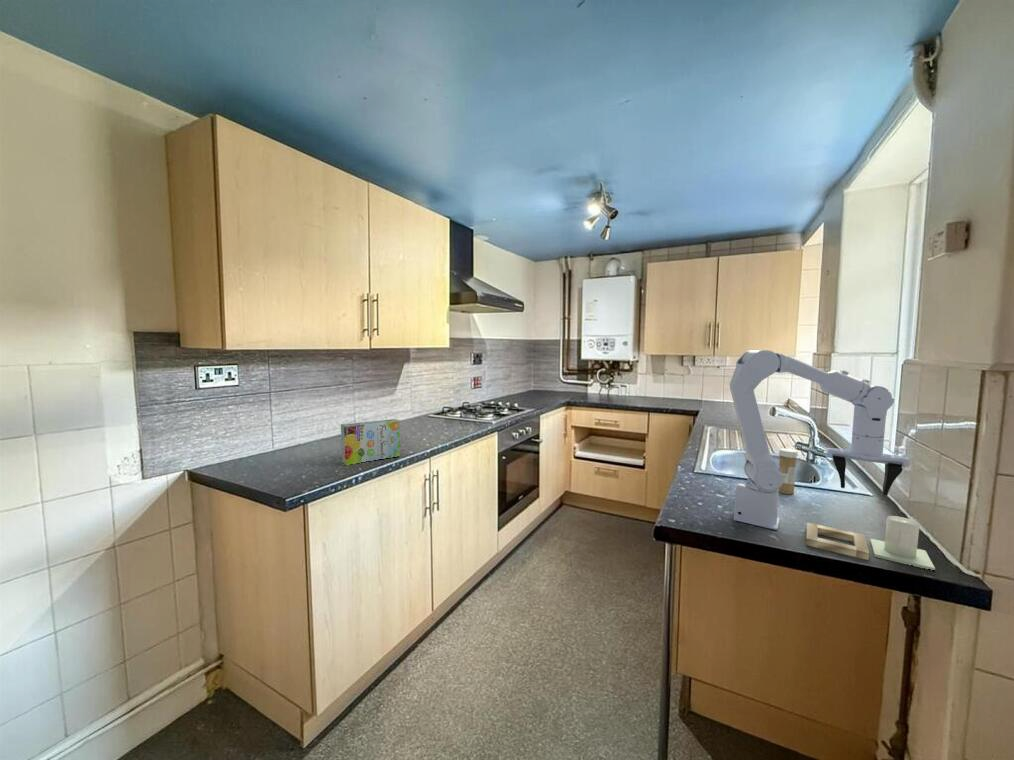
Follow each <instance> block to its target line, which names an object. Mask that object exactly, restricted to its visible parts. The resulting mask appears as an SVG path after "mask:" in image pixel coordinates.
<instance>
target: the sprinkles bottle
mask: <svg viewBox="0 0 1014 760" xmlns="http://www.w3.org/2000/svg"><path fill="white" fill-rule="evenodd" d="M778 456H779V462H778V463H779V464H778V470H779V471H780V472H781V473H782V475H783V484H782V486H781V487H780V488H779V493H782V494H784V495H793V494H795V482H796V474H797V473H796V471H797V458H798V450H796V449H792V448H783V447H782V448H780V449H779V452H778Z"/></svg>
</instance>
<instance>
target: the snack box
mask: <svg viewBox="0 0 1014 760" xmlns="http://www.w3.org/2000/svg"><path fill="white" fill-rule="evenodd" d="M400 423H401V420H399V419H397V418H391V419H389V418H388V419H381V420H371V421H362V422H353V423H352V422H351V423H343V424H340V442H341V445H340V446H341V463H342V464H343V463H344V464H345V465H347V466H351V465H350V464H353V465H357V464H356V463H360V464H362V463H361V462H366V461H372V460H378V459H385V458H391V457H397V456H400V457H401V424H400ZM391 459H392V458H391ZM385 460H386V459H385ZM372 462H373V461H372ZM366 463H367V462H366ZM344 464H343V465H344ZM345 465H344V466H345Z"/></svg>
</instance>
